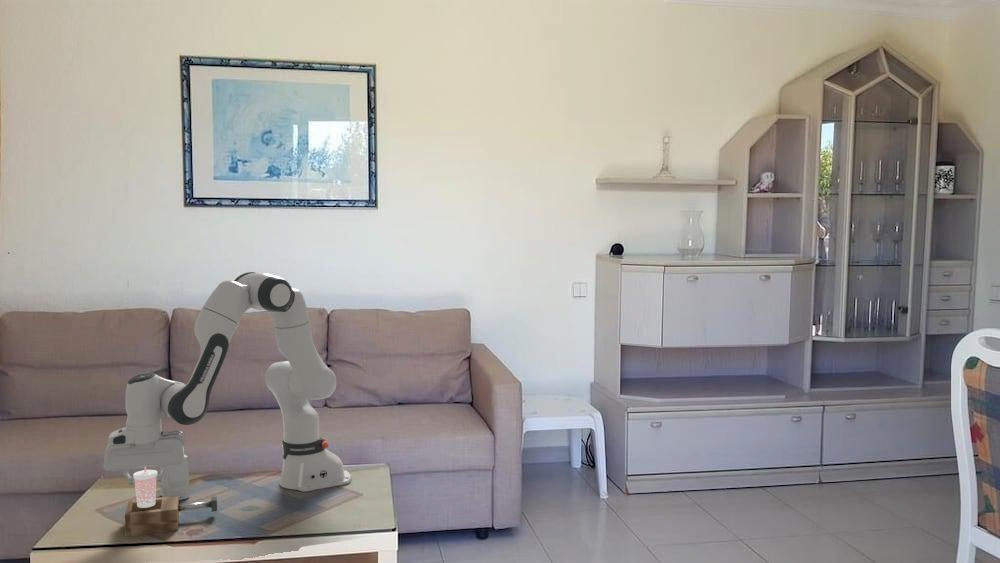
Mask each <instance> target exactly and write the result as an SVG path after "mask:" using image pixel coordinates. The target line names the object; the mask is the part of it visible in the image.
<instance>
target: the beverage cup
mask: <svg viewBox="0 0 1000 563" xmlns="http://www.w3.org/2000/svg"><path fill="white" fill-rule="evenodd" d="M157 474H159V473H158V471H157V470H156V469H147V467H144V468H143V470H138V471H136V472H134V473H133V474H132V476H134V477H133V478H134V488H135V496H136V500H137V507H139V508H147V507H151V506H154V505H155V503H156V498H157Z"/></svg>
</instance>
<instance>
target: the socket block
mask: <svg viewBox="0 0 1000 563" xmlns="http://www.w3.org/2000/svg"><path fill="white" fill-rule="evenodd" d="M179 501H180V500H179V499H178V496H169V497H162V496H161V497H156V503H155V505H154V506H151V507H147V508H139V507H137V499H136V500H128V501H127V506H126V510H125V513H124V526H125V538H130V537H137V536H145V535H153V534H161V533H162V534H163V533H169V532H177V531H179V521H180V511H179V512H178V505H180V504H179Z"/></svg>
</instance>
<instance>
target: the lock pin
mask: <svg viewBox="0 0 1000 563" xmlns="http://www.w3.org/2000/svg"><path fill="white" fill-rule="evenodd" d="M210 499H211V500H209V501H203V502H201V501H200V502H193V503H185V504H179V505H178V512H179V513H180V512H186V511H193V510H194V511H195V510H202V509H210V508H211V512H213V513H214V512H218V496H211V498H210Z"/></svg>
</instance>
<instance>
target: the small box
mask: <svg viewBox="0 0 1000 563" xmlns="http://www.w3.org/2000/svg"><path fill="white" fill-rule="evenodd" d="M189 466H190V465H189V456H188V455H186V454H185V453H184V461H183V463H182V464H175V465H167V470H166V472H165V473H164V475H163V481H159V482H160V496H161V497H169V496H178V499H179V501H182V500H186V499H190V477H189V476H190V472H189V469H190V468H189ZM162 470H163V469H162V467H161V466H159V472H160V473H159V474H161V472H162Z"/></svg>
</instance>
